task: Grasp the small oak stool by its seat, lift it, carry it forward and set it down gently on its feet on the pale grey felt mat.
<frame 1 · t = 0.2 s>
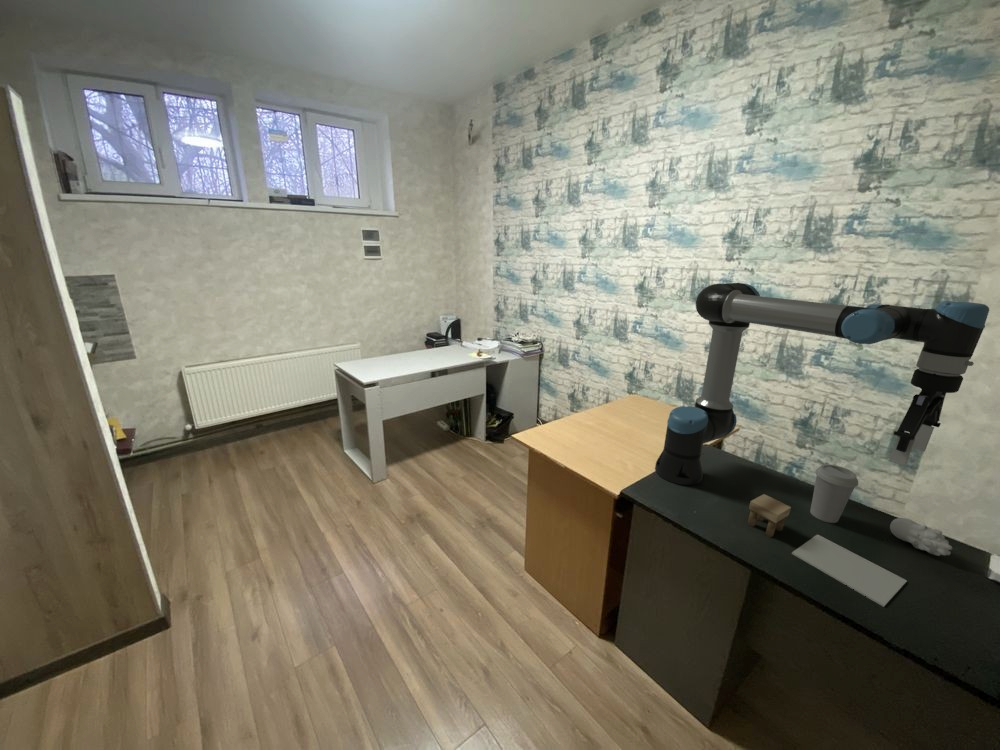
hand: (907, 455, 93), 28 cm above the table, fingers open, 13 cm apart
figurine: (916, 546, 103), on the table
mat: (846, 567, 95), on the table
coffee cup: (823, 516, 115), on the table
stool: (764, 526, 109), on the table
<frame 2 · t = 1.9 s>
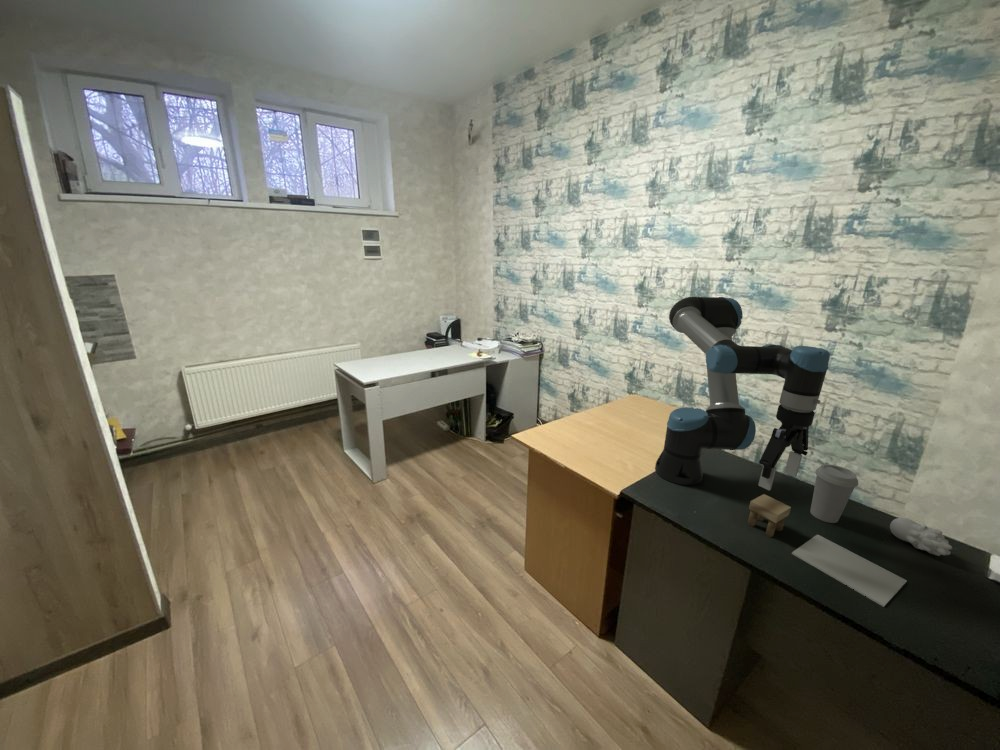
hand: (777, 481, 104), 15 cm above the table, fingers open, 13 cm apart
nothing on the table moved.
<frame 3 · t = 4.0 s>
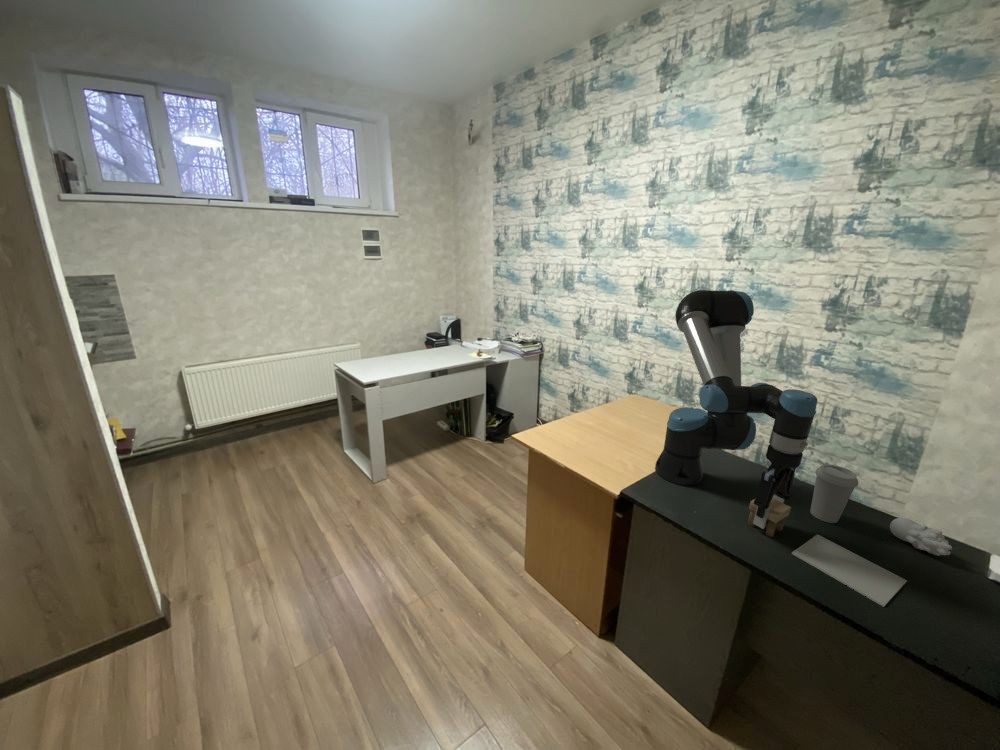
hand: (766, 521, 109), 2 cm above the table, fingers closed on stool, 7 cm apart
stool: (764, 526, 109), on the table, touching gripper
everything else where it was.
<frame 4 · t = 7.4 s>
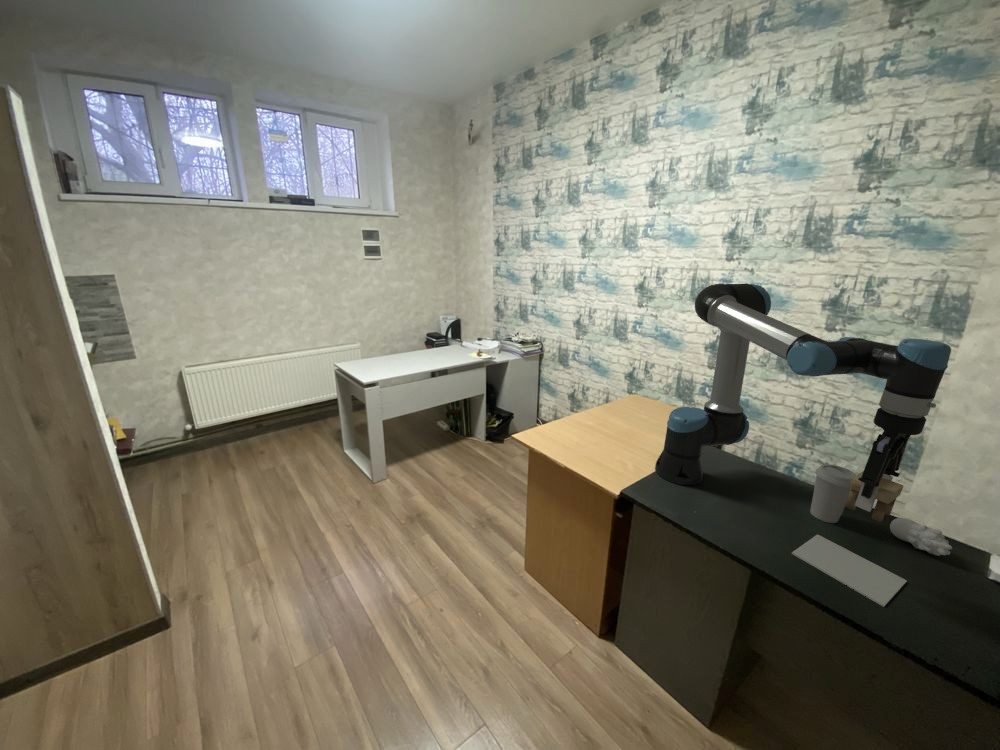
hand: (869, 503, 90), 19 cm above the table, fingers closed on stool, 7 cm apart
stool: (867, 509, 90), point 17 cm above the table, touching gripper
everything else where it was.
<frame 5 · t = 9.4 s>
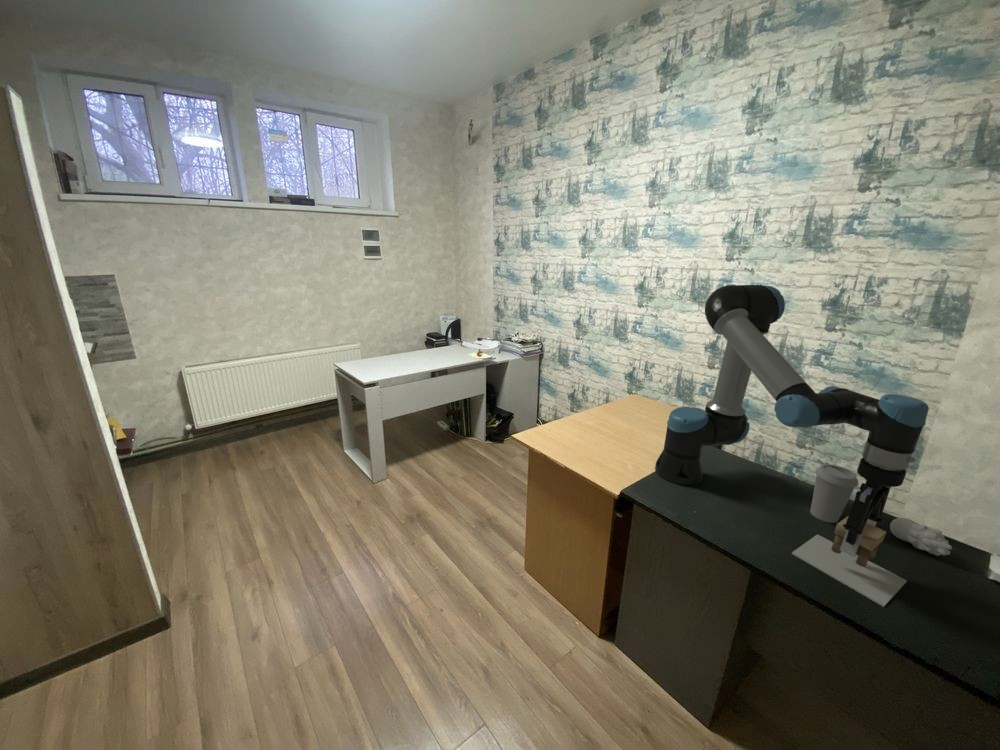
hand: (854, 547, 93), 6 cm above the table, fingers closed on stool, 7 cm apart
stool: (852, 553, 94), point 4 cm above the table, touching gripper
everything else where it was.
when the fingers open (3 cm above the table, at t = 10.9 s): stool stays where it is, resting on mat.
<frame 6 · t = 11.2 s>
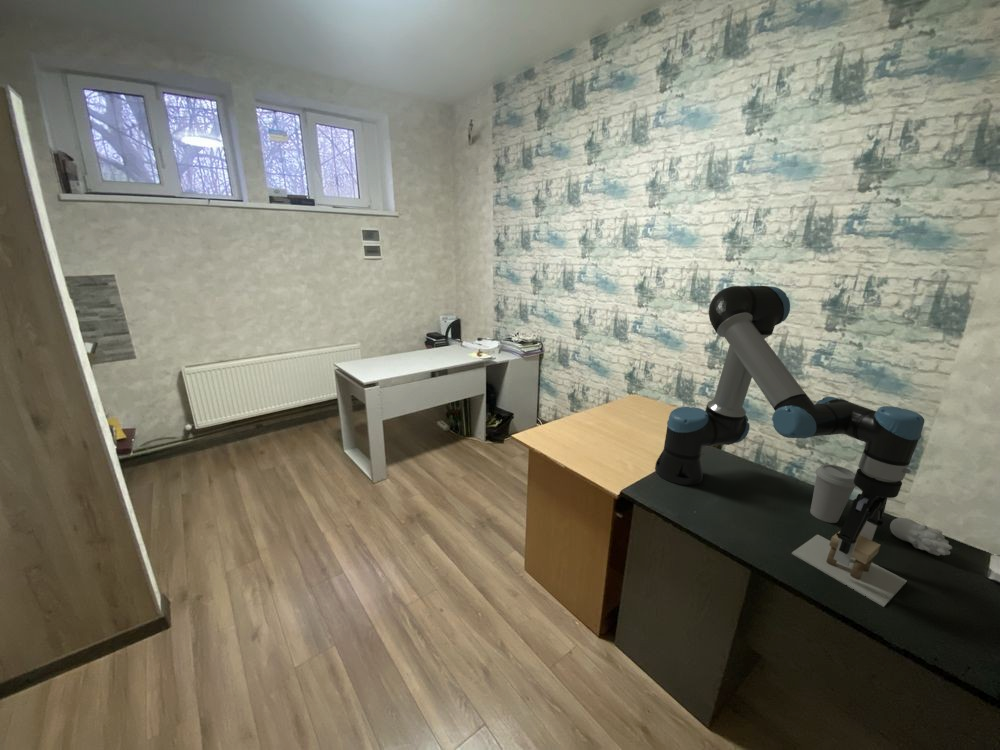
hand: (851, 553, 94), 4 cm above the table, fingers open, 11 cm apart
stool: (847, 565, 95), resting on mat
everything else where it was.
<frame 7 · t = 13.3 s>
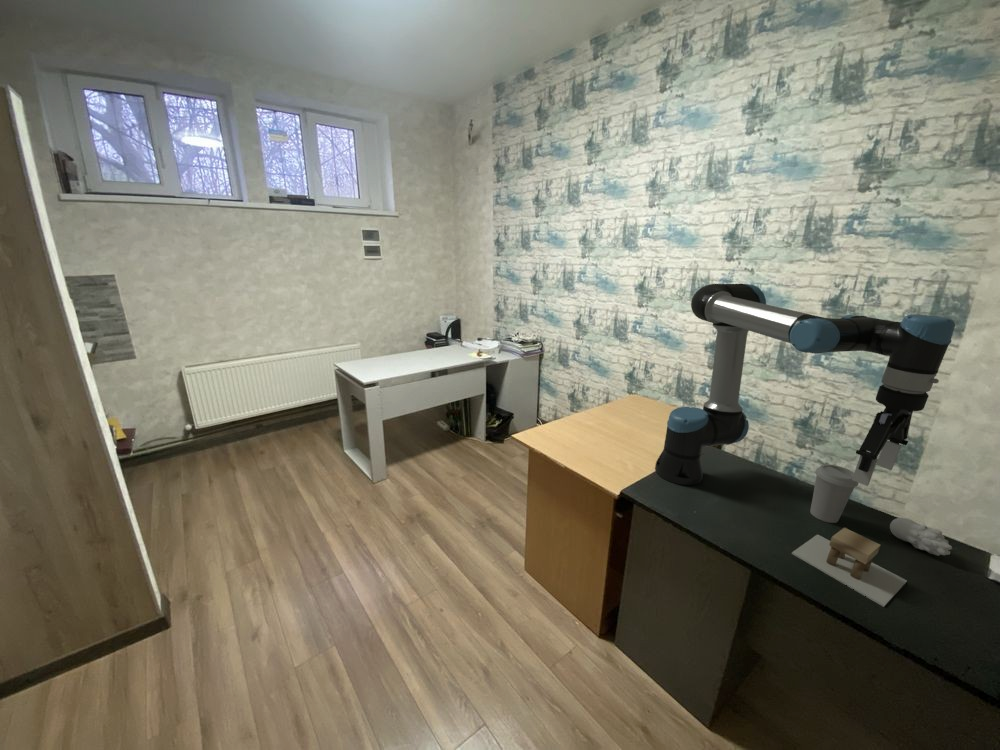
hand: (872, 474, 89), 25 cm above the table, fingers open, 13 cm apart
nothing on the table moved.
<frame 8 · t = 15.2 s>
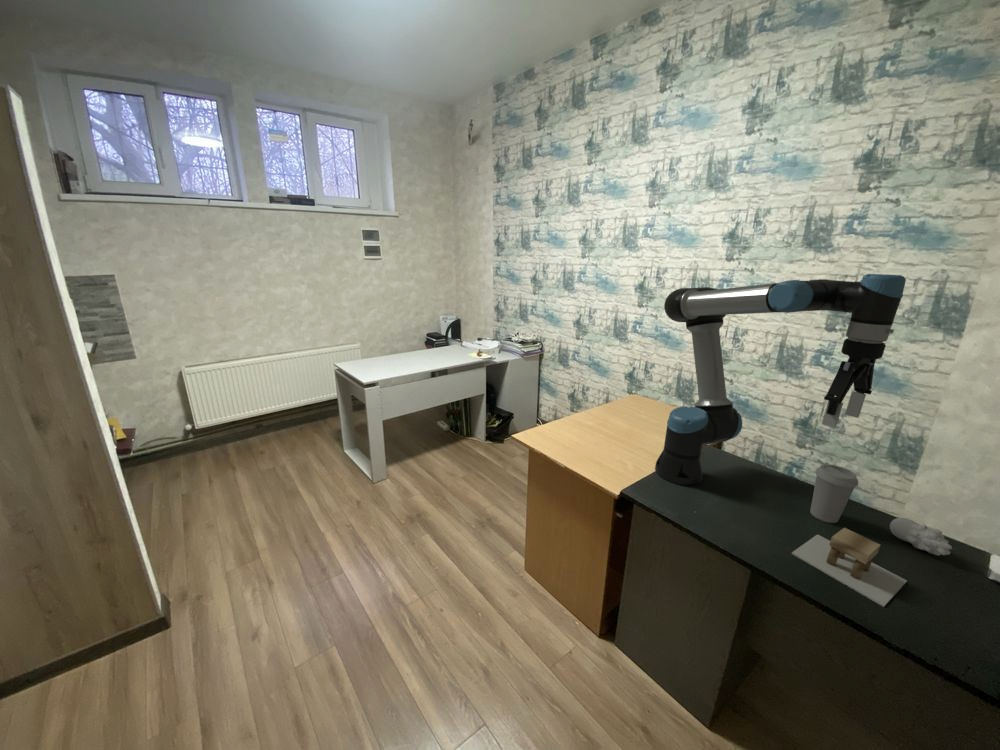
hand: (840, 420, 100), 33 cm above the table, fingers open, 13 cm apart
nothing on the table moved.
at the end: stool inside the target area on the mat (0.0 cm from its centre), point 0.4 cm above the mat's base; stool tilted 0°; the gripper is holding nothing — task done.
